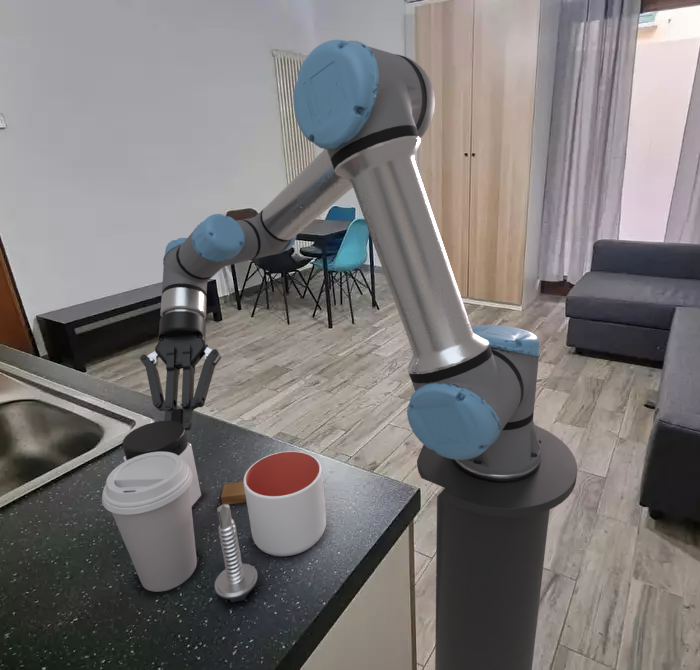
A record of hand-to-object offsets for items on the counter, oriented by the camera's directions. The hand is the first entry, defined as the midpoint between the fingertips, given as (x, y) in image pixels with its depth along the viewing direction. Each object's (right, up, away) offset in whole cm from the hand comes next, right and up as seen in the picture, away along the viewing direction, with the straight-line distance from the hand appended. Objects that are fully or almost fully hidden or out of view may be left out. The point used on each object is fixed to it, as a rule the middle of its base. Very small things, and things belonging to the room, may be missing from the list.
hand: (177, 450), depth 77 cm
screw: (+16, -13, -19) cm, 28 cm away
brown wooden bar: (+15, -6, -2) cm, 16 cm away
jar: (+1, -7, -4) cm, 8 cm away
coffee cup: (+6, -12, -16) cm, 21 cm away
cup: (+20, -9, -10) cm, 25 cm away
